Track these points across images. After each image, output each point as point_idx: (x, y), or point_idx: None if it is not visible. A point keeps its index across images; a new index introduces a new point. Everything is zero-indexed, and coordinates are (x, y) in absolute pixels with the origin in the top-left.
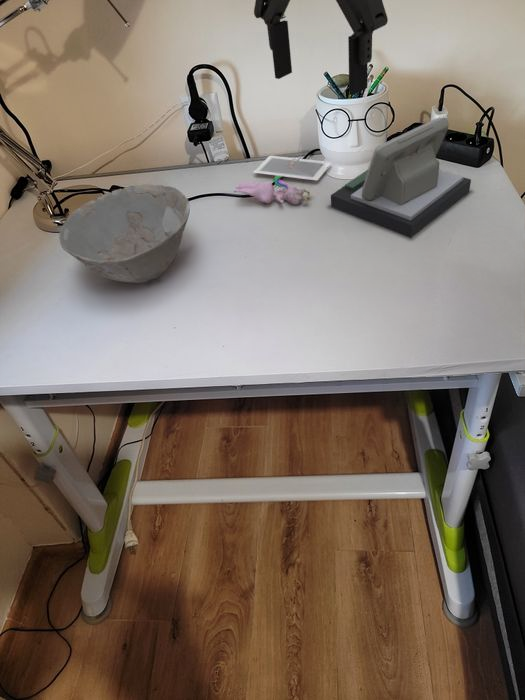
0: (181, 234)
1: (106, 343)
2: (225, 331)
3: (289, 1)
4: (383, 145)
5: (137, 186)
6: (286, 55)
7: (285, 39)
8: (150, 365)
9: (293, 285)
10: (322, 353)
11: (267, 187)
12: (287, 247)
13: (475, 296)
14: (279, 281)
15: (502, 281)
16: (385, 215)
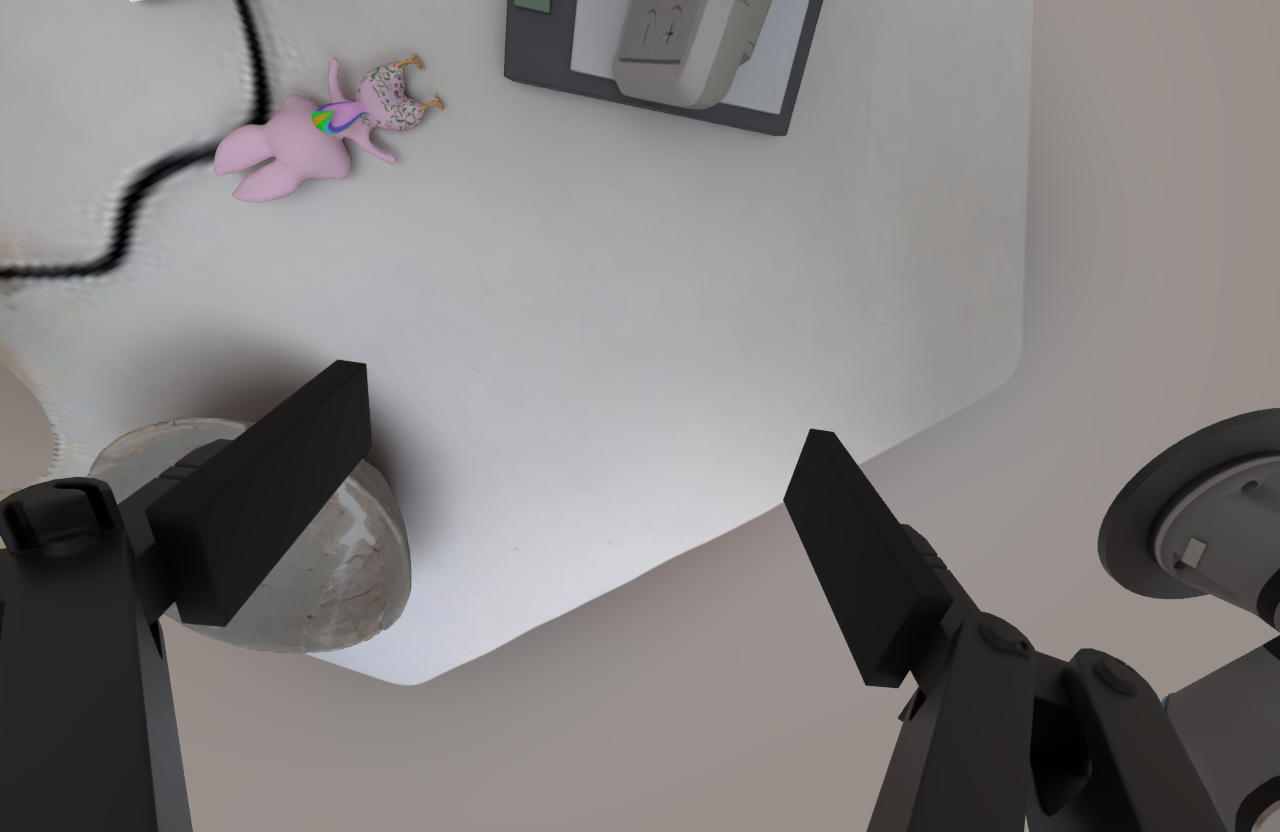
0: (384, 497)
1: (455, 606)
2: (591, 522)
3: (135, 646)
4: (704, 59)
5: (109, 451)
6: (324, 434)
7: (272, 475)
8: (545, 603)
9: (621, 395)
10: (748, 493)
11: (317, 149)
12: (531, 301)
13: (946, 275)
14: (590, 398)
15: (994, 207)
16: (704, 117)
